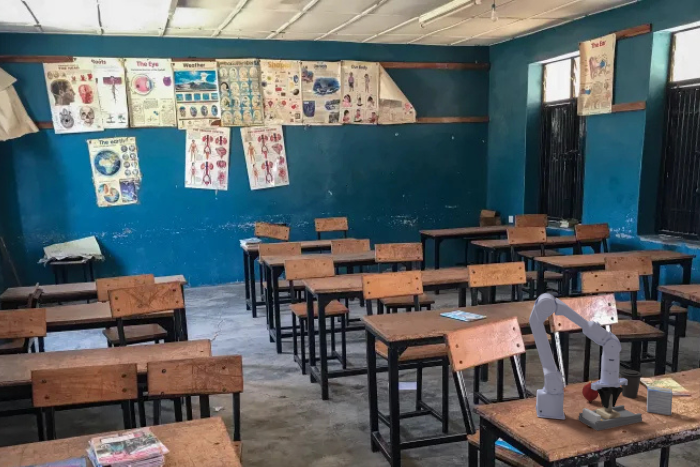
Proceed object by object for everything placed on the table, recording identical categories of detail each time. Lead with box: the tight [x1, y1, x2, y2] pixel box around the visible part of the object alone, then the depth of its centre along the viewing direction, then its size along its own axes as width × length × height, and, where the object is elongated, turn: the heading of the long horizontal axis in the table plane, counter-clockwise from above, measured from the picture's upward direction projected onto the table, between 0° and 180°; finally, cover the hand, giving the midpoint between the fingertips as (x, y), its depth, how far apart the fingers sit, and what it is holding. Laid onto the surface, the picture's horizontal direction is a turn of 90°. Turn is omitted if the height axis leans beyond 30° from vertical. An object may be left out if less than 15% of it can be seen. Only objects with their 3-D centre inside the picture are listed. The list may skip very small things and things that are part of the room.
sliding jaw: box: [595, 394, 621, 420], centre depth 200 cm, size 5×6×8 cm
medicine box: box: [646, 385, 674, 416], centre depth 208 cm, size 8×4×9 cm, turn 65°
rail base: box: [578, 404, 643, 431], centre depth 201 cm, size 20×9×4 cm, turn 110°
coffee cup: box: [619, 368, 643, 399], centre depth 224 cm, size 8×8×10 cm
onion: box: [581, 380, 599, 402], centre depth 218 cm, size 6×6×8 cm
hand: (608, 406), depth 200 cm, fingers closed on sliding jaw, 2 cm apart
